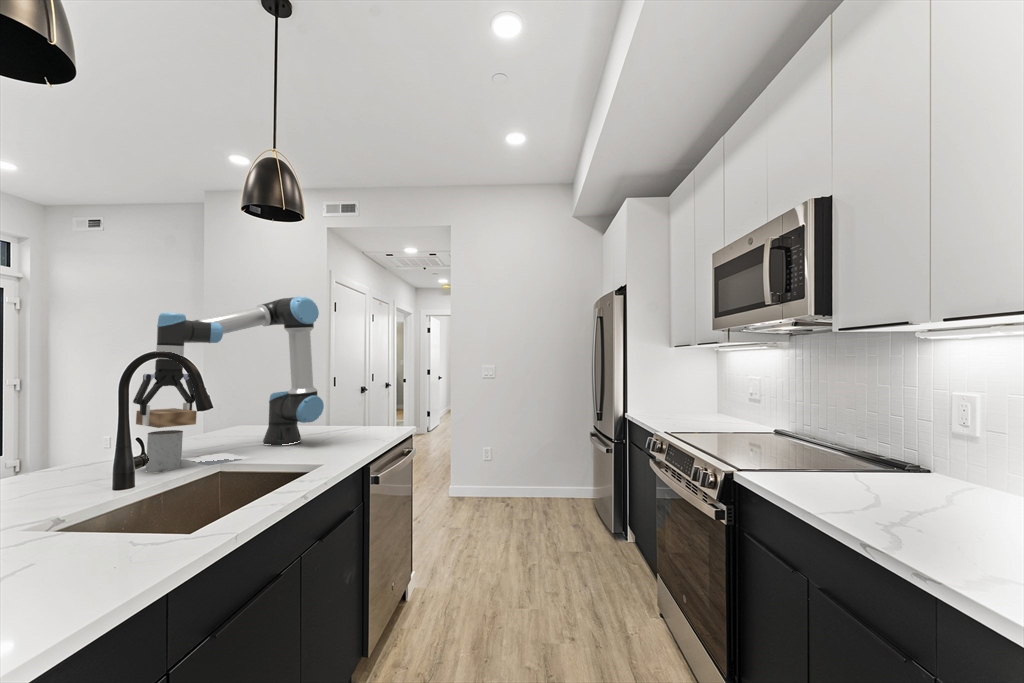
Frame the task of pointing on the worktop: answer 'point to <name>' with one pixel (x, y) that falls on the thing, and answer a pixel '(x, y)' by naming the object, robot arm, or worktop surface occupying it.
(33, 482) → the worktop surface
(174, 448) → the grey speckled cylinder
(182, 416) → the board
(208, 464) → the mat
